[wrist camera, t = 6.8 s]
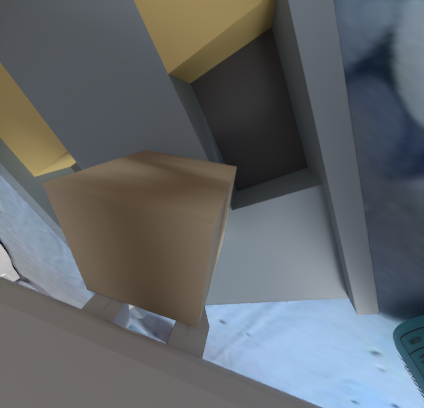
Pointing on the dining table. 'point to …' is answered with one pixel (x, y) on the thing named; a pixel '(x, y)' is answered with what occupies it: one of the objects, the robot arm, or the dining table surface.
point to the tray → (200, 125)
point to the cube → (147, 229)
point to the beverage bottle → (412, 347)
